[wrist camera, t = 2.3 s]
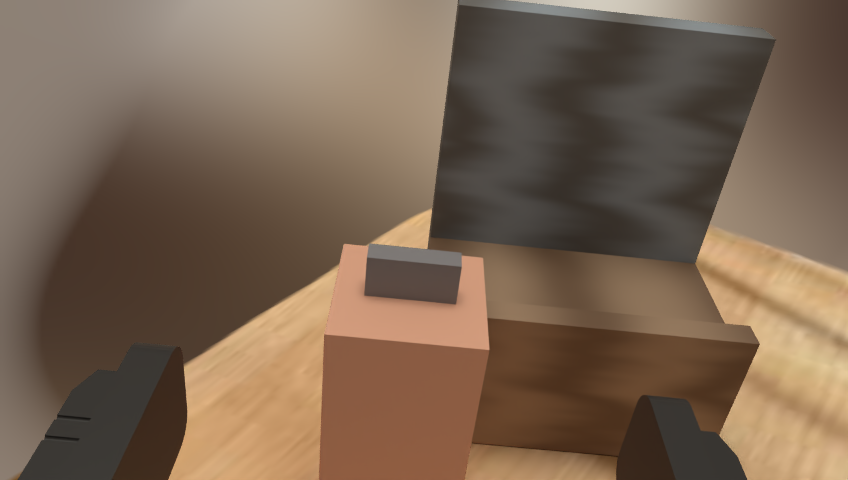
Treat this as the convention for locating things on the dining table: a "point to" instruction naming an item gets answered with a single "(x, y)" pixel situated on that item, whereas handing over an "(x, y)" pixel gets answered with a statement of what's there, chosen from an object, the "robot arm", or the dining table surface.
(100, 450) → the robot arm
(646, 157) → the grey brown l-shaped block
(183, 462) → the dining table surface
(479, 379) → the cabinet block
